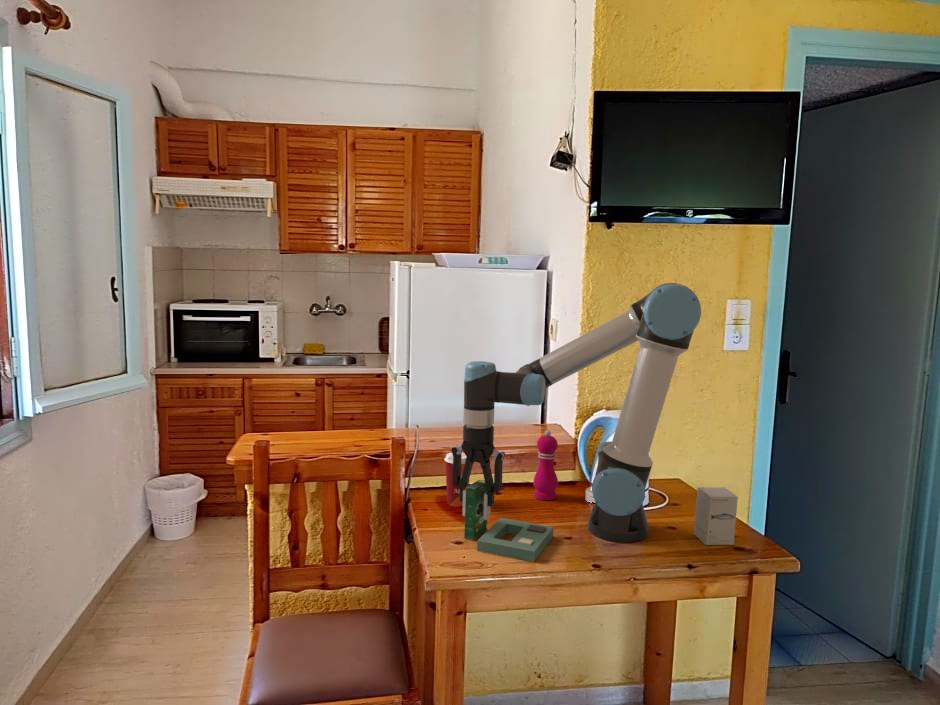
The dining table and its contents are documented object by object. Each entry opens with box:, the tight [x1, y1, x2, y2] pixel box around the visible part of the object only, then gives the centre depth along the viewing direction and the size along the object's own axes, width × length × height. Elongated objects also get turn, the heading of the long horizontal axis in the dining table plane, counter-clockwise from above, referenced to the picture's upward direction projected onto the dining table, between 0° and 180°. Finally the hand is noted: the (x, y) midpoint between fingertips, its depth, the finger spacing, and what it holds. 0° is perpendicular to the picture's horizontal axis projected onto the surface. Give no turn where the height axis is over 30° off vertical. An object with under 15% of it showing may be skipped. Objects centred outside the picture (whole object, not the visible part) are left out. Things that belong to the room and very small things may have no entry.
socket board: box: [476, 517, 554, 563], centre depth 162 cm, size 14×16×3 cm
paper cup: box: [444, 451, 470, 508], centre depth 188 cm, size 8×8×14 cm
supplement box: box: [693, 486, 739, 546], centre depth 166 cm, size 7×7×13 cm
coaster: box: [584, 486, 595, 503], centre depth 193 cm, size 10×10×4 cm
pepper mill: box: [532, 430, 559, 501], centre depth 194 cm, size 7×7×20 cm
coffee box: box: [464, 479, 488, 541], centre depth 166 cm, size 8×3×13 cm, turn 154°
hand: (476, 515), depth 167 cm, fingers open, 5 cm apart
